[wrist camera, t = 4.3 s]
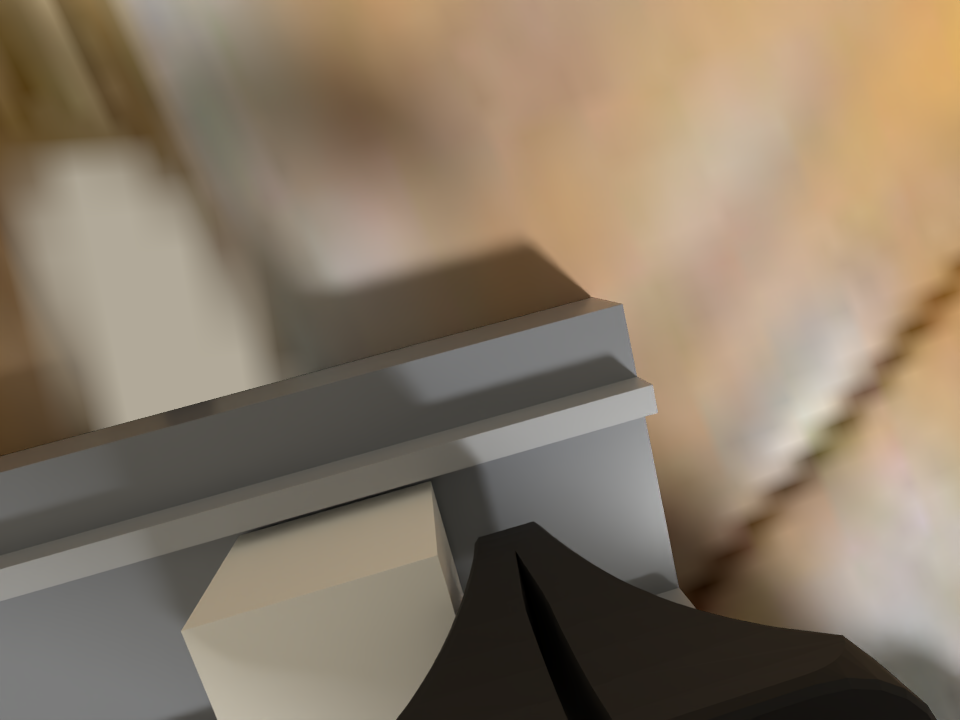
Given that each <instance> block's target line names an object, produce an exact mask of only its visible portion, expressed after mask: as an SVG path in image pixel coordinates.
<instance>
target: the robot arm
mask: <svg viewBox="0 0 960 720" xmlns="http://www.w3.org/2000/svg"><path fill="white" fill-rule="evenodd" d="M396 720H937V719H936V718H935V716H934V715H933V713H932V712H931V710H930V709H929V707H928V706H927V704H925V703H924V702H923V701H922V700H921V699H920V698H918V697H917V696H916V695H915V694H914V693H913V692H912V691H910V690H909V689H908V688H907V687H906V686H905V685H904V684H902V683H901V682H900V681H899V680H898V679H897V678H896V677H895V676H894V675H892V674H891V673H890V672H889V671H888V670H886V669H885V668H884V667H883V666H882V665H881V664H879V663H878V662H877V661H876V660H874V659H873V658H872V657H870V656H869V655H868V654H866V653H865V652H864V651H862V650H861V649H860V648H858V647H857V646H856V645H854V644H853V643H852V642H851V641H849V640H848V639H847V638H845V637H844V636H843V635H835V634H827V633H818V632H810V631H802V630H794V629H786V628H777V627H771V626H766V625H761V624H756V623H751V622H746V621H741V620H736V619H731V618H727V617H723V616H719V615H715V614H711V613H708V612H704V611H701V610H698V609H695V608H691V607H688V606H685V605H682V604H678V603H675V602H673V601H670V600H667V599H664V598H662V597H659V596H656V595H654V594H652V593H649V592H647V591H645V590H642V589H640V588H638V587H635V586H633V585H631V584H629V583H626V582H624V581H622V580H620V579H618V578H616V577H615V576H613V575H611V574H609V573H607V572H606V571H604V570H602V569H601V568H599V567H597V566H596V565H594V564H592V563H591V562H589V561H588V560H586V559H585V558H583V557H582V556H580V555H579V554H577V553H576V552H574V551H573V550H571V549H570V548H568V547H567V546H566V545H564V544H563V543H562V542H560V541H559V540H558V539H556V538H555V537H554V536H552V535H551V534H550V533H549V532H547V531H546V530H545V529H544V528H543V527H542V526H540V525H539V524H537V523H536V522H534V521H533V522H529V523H526V524H522V525H519V526H516V527H512V528H509V529H505V530H502V531H498V532H495V533H492V534H488V535H485V536H481V537H478V539H477V541H476V542H475V544H474V556H473V562H472V566H471V570H470V575H469V578H468V581H467V585H466V588H465V591H464V595H463V598H462V601H461V604H460V606H459V609H458V611H457V614H456V616H455V619H454V621H453V624H452V626H451V629H450V631H449V633H448V636H447V638H446V640H445V642H444V644H443V646H442V648H441V650H440V652H439V654H438V656H437V658H436V659H435V661H434V663H433V665H432V667H431V669H430V670H429V672H428V674H427V675H426V677H425V678H424V680H423V682H422V683H421V685H420V686H419V688H418V690H417V691H416V693H415V694H414V696H413V697H412V699H411V700H410V702H409V703H408V705H407V706H406V707H405V709H404V710H403V711H402V712H401V714H400V715H399V716H398V718H397V719H396Z"/></svg>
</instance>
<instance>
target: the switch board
mask: <svg viewBox="0 0 960 720" xmlns="http://www.w3.org/2000/svg"><path fill="white" fill-rule="evenodd" d="M655 413H658V410H657V405H656V400H655V395H654V390H653V385H652V384H650V383H648V382H646V381H644V380H643V379H641V378H639V377H637V374H636V369H635V364H634V359H633V354H632V349H631V344H630V339H629V334H628V329H627V324H626V319H625V314H624V309H623V304H620V303H616V302H611V301H607V300H602V299H598V298H594V297H591V298H587V299H584V300H580V301H576V302H573V303H569V304H565V305H561V306H558V307H554V308H550V309H547V310H543V311H539V312H535V313H532V314H528V315H524V316H521V317H517V318H513V319H509V320H506V321H502V322H498V323H495V324H491V325H487V326H483V327H480V328H476V329H472V330H468V331H465V332H461V333H457V334H454V335H450V336H446V337H442V338H439V339H435V340H431V341H428V342H424V343H420V344H416V345H413V346H409V347H405V348H402V349H398V350H394V351H390V352H387V353H383V354H379V355H376V356H372V357H368V358H364V359H361V360H357V361H353V362H349V363H346V364H342V365H338V366H335V367H331V368H327V369H323V370H320V371H316V372H312V373H309V374H305V375H301V376H297V377H294V378H290V379H286V380H283V381H279V382H275V383H271V384H268V385H264V386H260V387H257V388H253V389H249V390H245V391H242V392H238V393H234V394H231V395H227V396H223V397H219V398H216V399H212V400H208V401H205V402H201V403H197V404H194V405H190V406H186V407H182V408H179V409H175V410H171V411H167V412H164V413H160V414H157V415H153V416H149V417H145V418H141V419H138V420H134V421H130V422H126V423H123V424H119V425H115V426H112V427H108V428H104V429H100V430H97V431H93V432H89V433H85V434H82V435H78V436H74V437H71V438H67V439H63V440H59V441H56V442H52V443H48V444H45V445H41V446H37V447H33V448H30V449H26V450H22V451H19V452H15V453H11V454H7V455H4V456H0V720H217V718H216V715H215V713H214V710H213V708H212V706H211V703H210V701H209V698H208V696H207V693H206V691H205V689H204V686H203V684H202V681H201V679H200V676H199V674H198V672H197V669H196V667H195V664H194V662H193V659H192V657H191V655H190V652H189V650H188V647H187V645H186V642H185V640H184V638H183V635H182V633H181V630H182V629H183V627H184V625H185V624H186V622H187V620H188V619H189V617H190V616H191V614H192V612H193V611H194V609H195V607H196V606H197V604H198V602H199V601H200V599H201V597H202V596H203V594H204V593H205V591H206V589H207V588H208V586H209V584H210V583H211V581H212V579H213V578H214V576H215V575H216V573H217V571H218V570H219V568H220V566H221V565H222V563H223V561H224V560H225V558H226V556H227V555H228V553H229V552H230V550H231V548H232V547H233V545H234V543H235V542H236V540H237V538H238V537H239V536H240V535H244V534H247V533H251V532H254V531H258V530H261V529H265V528H268V527H271V526H275V525H278V524H282V523H285V522H289V521H292V520H296V519H299V518H303V517H306V516H310V515H313V514H317V513H320V512H324V511H327V510H331V509H334V508H338V507H341V506H345V505H348V504H352V503H355V502H359V501H362V500H366V499H369V498H373V497H376V496H379V495H383V494H386V493H390V492H393V491H397V490H400V489H404V488H407V487H411V486H414V485H418V484H421V483H425V482H428V481H431V484H432V487H433V491H434V494H435V498H436V501H437V505H438V508H439V512H440V515H441V518H442V522H443V525H444V529H445V532H446V536H447V539H448V543H449V546H450V550H451V553H452V557H453V560H454V563H455V567H456V570H457V574H458V577H459V581H460V584H461V588H462V591H463V595H464V591H465V588H466V585H467V581H468V578H469V575H470V570H471V566H472V562H473V556H474V544H475V542H476V541H477V539H478V537H481V536H485V535H488V534H492V533H495V532H498V531H502V530H505V529H509V528H512V527H516V526H519V525H522V524H526V523H529V522H533V521H534V522H536V523H537V524H539V525H540V526H542V527H543V528H544V529H545V530H546V531H547V532H549V533H550V534H551V535H552V536H554V537H555V538H556V539H558V540H559V541H560V542H562V543H563V544H564V545H566V546H567V547H568V548H570V549H571V550H573V551H574V552H576V553H577V554H579V555H580V556H582V557H583V558H585V559H586V560H588V561H589V562H591V563H592V564H594V565H596V566H597V567H599V568H601V569H602V570H604V571H606V572H607V573H609V574H611V575H613V576H615V577H616V578H618V579H620V580H622V581H624V582H626V583H629V584H631V585H633V586H635V587H638V588H640V589H642V590H645V591H647V592H649V593H652V594H654V595H656V596H659V597H662V598H664V599H667V600H670V601H673V602H675V603H678V604H682V605H685V606H688V607H691V608H695V607H694V605H693V604H692V603H691V602H690V601H689V599H688V598H687V597H686V596H685V594H684V593H683V592H682V591H681V589H680V588H679V585H678V580H677V575H676V570H675V565H674V560H673V555H672V550H671V545H670V540H669V535H668V530H667V525H666V520H665V515H664V510H663V505H662V500H661V495H660V490H659V485H658V480H657V475H656V470H655V465H654V460H653V455H652V450H651V445H650V439H649V434H648V429H647V424H646V419H645V416H648V415H652V414H655ZM695 609H696V608H695Z"/></svg>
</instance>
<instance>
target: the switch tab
mask: <svg viewBox="0 0 960 720" xmlns="http://www.w3.org/2000/svg"><path fill="white" fill-rule="evenodd" d="M462 598H463V591H462V588H461V584H460V581H459V577H458V574H457V570H456V567H455V563H454V560H453V557H452V553H451V550H450V546H449V543H448V539H447V536H446V532H445V529H444V525H443V522H442V518H441V515H440V512H439V508H438V505H437V501H436V498H435V494H434V491H433V487H432V484H431V481H428V482H425V483H421V484H418V485H414V486H411V487H407V488H404V489H400V490H397V491H393V492H390V493H386V494H383V495H379V496H376V497H373V498H369V499H366V500H362V501H359V502H355V503H352V504H348V505H345V506H341V507H338V508H334V509H331V510H327V511H324V512H320V513H317V514H313V515H310V516H306V517H303V518H299V519H296V520H292V521H289V522H285V523H282V524H278V525H275V526H271V527H268V528H265V529H261V530H258V531H254V532H251V533H247V534H244V535H240V536H239V537H238V538H237V540H236V542H235V543H234V545H233V547H232V548H231V550H230V552H229V553H228V555H227V556H226V558H225V560H224V561H223V563H222V565H221V566H220V568H219V570H218V571H217V573H216V575H215V576H214V578H213V579H212V581H211V583H210V584H209V586H208V588H207V589H206V591H205V593H204V594H203V596H202V597H201V599H200V601H199V602H198V604H197V606H196V607H195V609H194V611H193V612H192V614H191V616H190V617H189V619H188V620H187V622H186V624H185V625H184V627H183V629H182V630H181V633H182V635H183V638H184V640H185V642H186V645H187V647H188V650H189V652H190V655H191V657H192V659H193V662H194V664H195V667H196V669H197V672H198V674H199V676H200V679H201V681H202V684H203V686H204V689H205V691H206V693H207V696H208V698H209V701H210V703H211V706H212V708H213V710H214V713H215V715H216V718H217V720H396V719H397V718H398V716H399V715H400V714H401V712H402V711H403V710H404V709H405V707H406V706H407V705H408V703H409V702H410V700H411V699H412V697H413V696H414V694H415V693H416V691H417V690H418V688H419V686H420V685H421V683H422V682H423V680H424V678H425V677H426V675H427V674H428V672H429V670H430V669H431V667H432V665H433V663H434V661H435V659H436V658H437V656H438V654H439V652H440V650H441V648H442V646H443V644H444V642H445V640H446V638H447V636H448V633H449V631H450V629H451V626H452V624H453V621H454V619H455V616H456V614H457V611H458V609H459V606H460V604H461V601H462Z"/></svg>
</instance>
